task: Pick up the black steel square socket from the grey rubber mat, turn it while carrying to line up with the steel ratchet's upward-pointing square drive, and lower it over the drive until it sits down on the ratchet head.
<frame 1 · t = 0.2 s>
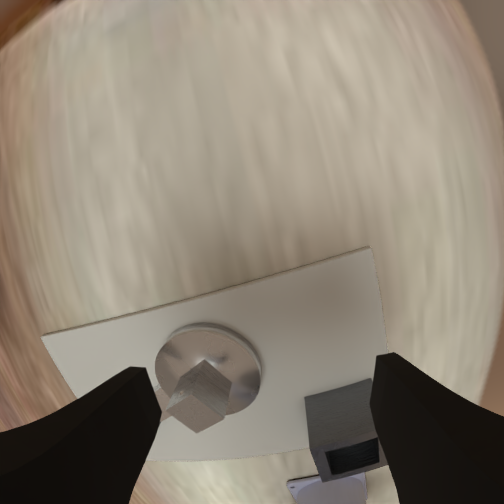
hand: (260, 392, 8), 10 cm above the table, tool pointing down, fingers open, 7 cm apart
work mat: (208, 395, 20), on the table
ratchet: (210, 366, 19), resting on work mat
socket: (342, 409, 19), resting on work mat
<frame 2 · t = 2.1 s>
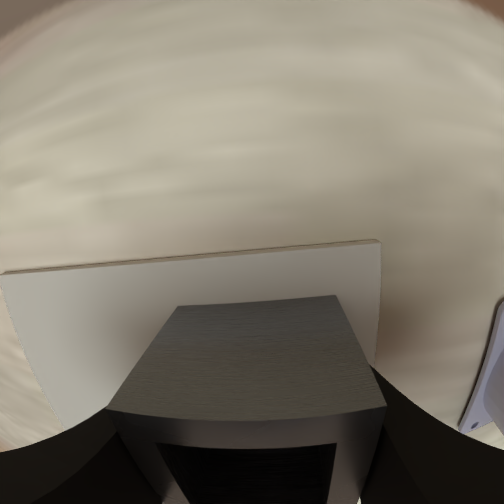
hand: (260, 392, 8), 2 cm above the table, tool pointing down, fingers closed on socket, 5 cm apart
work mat: (207, 485, 13), on the table
socket: (262, 367, 10), resting on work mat, touching gripper
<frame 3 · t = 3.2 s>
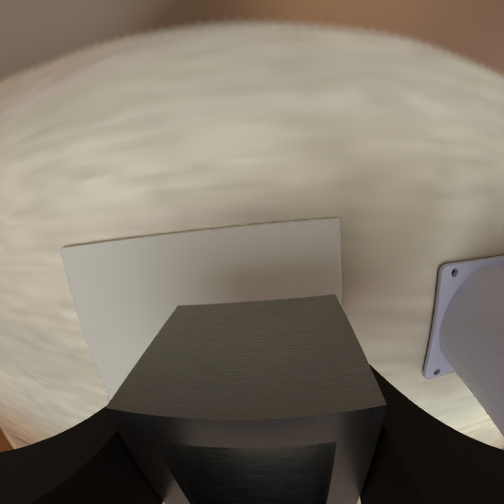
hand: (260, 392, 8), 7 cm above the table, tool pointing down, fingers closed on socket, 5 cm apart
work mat: (219, 423, 18), on the table
socket: (262, 366, 10), point 6 cm above the table, touching gripper
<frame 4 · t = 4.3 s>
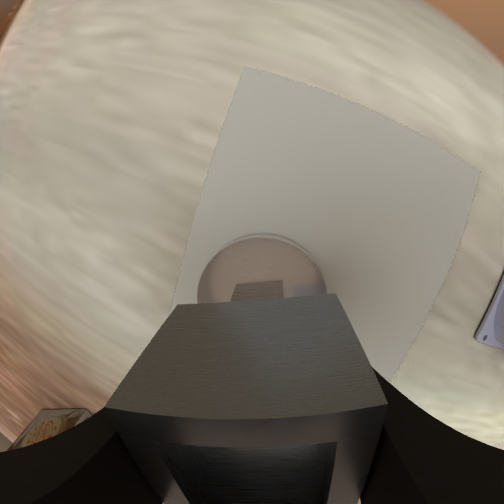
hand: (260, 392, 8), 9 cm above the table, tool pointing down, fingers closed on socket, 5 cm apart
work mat: (301, 325, 18), on the table
ratchet: (262, 292, 17), resting on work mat
socket: (262, 365, 10), point 8 cm above the table, touching gripper
coffee box: (79, 428, 23), on the table
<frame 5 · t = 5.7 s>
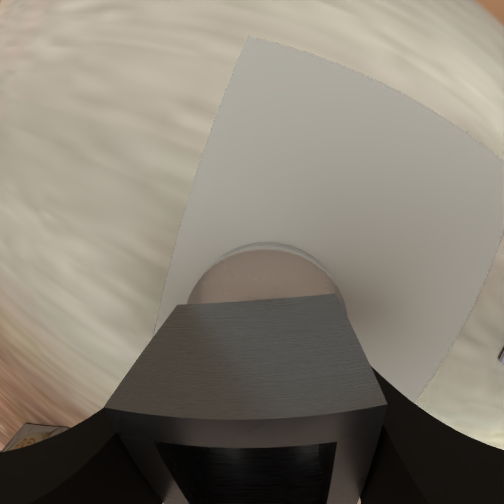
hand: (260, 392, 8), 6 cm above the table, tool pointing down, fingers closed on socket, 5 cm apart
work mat: (311, 353, 14), on the table
ratchet: (266, 315, 14), resting on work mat
socket: (261, 366, 10), point 5 cm above the table, touching gripper
coffee box: (64, 445, 20), on the table
when the fingers open (4 cm above the table, at t = 6.7 s): socket stays where it is, resting on ratchet.
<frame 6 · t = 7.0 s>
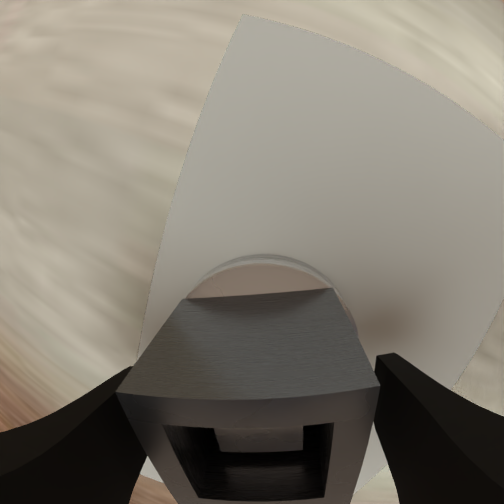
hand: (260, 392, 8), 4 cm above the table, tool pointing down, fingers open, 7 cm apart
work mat: (315, 376, 12), on the table
ratchet: (264, 338, 12), resting on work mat, touching socket
socket: (263, 358, 10), point 2 cm above the table, touching ratchet
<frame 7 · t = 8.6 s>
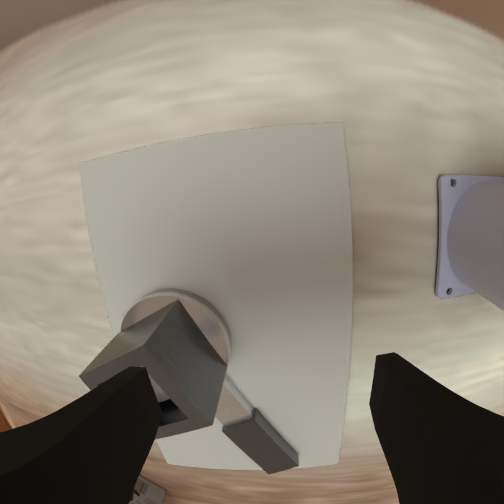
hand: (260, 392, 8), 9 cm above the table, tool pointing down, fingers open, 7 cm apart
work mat: (227, 352, 19), on the table
ratchet: (178, 338, 18), resting on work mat, touching socket
socket: (171, 349, 17), point 2 cm above the table, touching ratchet
coffee box: (130, 482, 25), on the table
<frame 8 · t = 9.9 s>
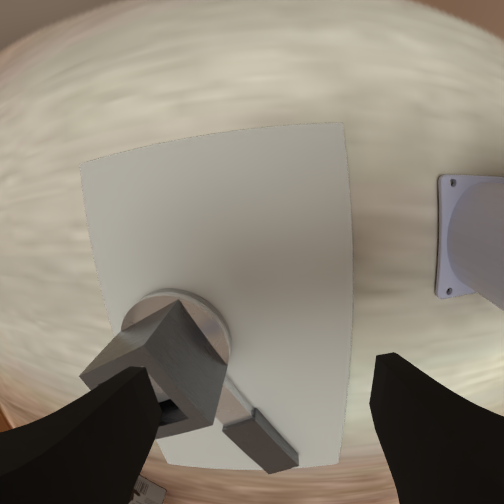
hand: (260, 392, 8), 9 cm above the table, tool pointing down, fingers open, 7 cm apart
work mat: (228, 352, 19), on the table
ratchet: (178, 338, 18), resting on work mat, touching socket
socket: (171, 349, 17), point 2 cm above the table, touching ratchet
coffee box: (130, 482, 25), on the table
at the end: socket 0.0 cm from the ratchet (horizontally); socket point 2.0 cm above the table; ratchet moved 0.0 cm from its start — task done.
